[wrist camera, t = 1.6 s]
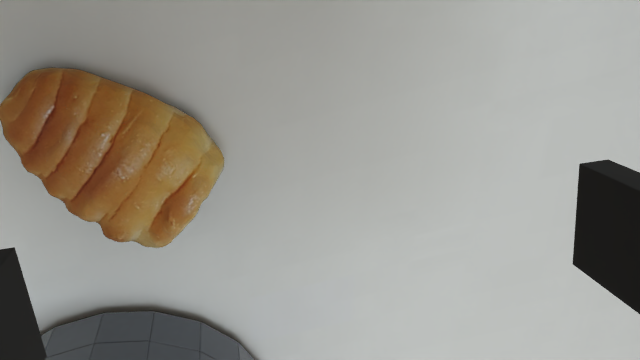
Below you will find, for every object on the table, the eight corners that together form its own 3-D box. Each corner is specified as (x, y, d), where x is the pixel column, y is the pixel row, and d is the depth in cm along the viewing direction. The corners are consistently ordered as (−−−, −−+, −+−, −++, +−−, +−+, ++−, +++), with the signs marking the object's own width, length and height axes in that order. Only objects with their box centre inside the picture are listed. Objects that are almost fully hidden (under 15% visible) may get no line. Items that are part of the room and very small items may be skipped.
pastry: (-19, 142, 25) (-55, 174, 22) (60, 21, 24) (35, 34, 20) (162, 242, 29) (155, 283, 25) (239, 141, 27) (243, 170, 24)
